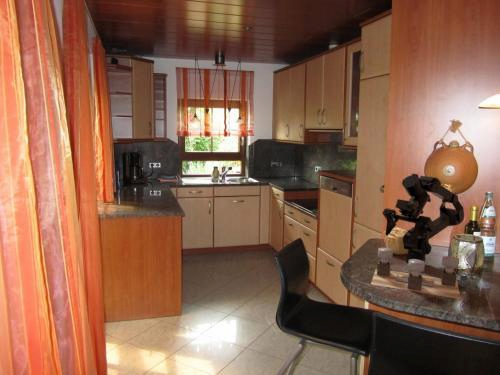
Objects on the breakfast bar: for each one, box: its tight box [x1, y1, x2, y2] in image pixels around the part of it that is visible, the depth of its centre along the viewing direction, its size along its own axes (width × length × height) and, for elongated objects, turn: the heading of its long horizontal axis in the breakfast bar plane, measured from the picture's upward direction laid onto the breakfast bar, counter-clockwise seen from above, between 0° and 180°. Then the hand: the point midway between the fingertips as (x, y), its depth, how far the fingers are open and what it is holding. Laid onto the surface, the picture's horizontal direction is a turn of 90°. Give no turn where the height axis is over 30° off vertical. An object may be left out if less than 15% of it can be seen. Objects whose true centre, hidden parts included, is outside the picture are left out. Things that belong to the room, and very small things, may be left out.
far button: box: [407, 259, 426, 278], centre depth 139 cm, size 5×5×5 cm
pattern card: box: [396, 274, 434, 287], centre depth 145 cm, size 6×12×1 cm, turn 68°
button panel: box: [370, 259, 462, 300], centre depth 144 cm, size 16×27×6 cm, turn 68°
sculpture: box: [383, 226, 408, 255], centre depth 181 cm, size 12×12×11 cm
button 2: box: [441, 255, 459, 274], centre depth 143 cm, size 5×5×5 cm
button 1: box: [377, 247, 394, 265], centre depth 150 cm, size 5×5×5 cm
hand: (397, 238), depth 154 cm, fingers open, 9 cm apart
